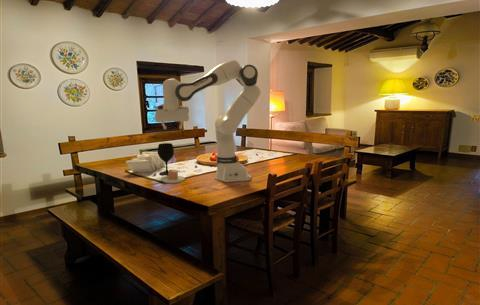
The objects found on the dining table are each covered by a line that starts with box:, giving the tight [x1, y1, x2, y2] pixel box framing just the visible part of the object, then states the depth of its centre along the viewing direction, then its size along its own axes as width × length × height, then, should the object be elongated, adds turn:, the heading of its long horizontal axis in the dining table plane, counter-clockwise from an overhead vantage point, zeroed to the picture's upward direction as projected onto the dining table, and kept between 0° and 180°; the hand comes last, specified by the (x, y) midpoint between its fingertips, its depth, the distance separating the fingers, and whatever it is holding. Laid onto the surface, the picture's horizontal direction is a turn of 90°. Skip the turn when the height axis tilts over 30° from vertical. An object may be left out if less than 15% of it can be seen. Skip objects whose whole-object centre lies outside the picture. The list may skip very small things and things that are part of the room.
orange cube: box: [167, 169, 179, 180], centre depth 191 cm, size 5×5×5 cm
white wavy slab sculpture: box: [125, 151, 165, 174], centre depth 221 cm, size 35×16×11 cm, turn 166°
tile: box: [161, 175, 185, 184], centre depth 192 cm, size 14×14×1 cm
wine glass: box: [157, 142, 175, 176], centre depth 206 cm, size 10×10×20 cm
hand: (172, 128), depth 190 cm, fingers open, 8 cm apart
